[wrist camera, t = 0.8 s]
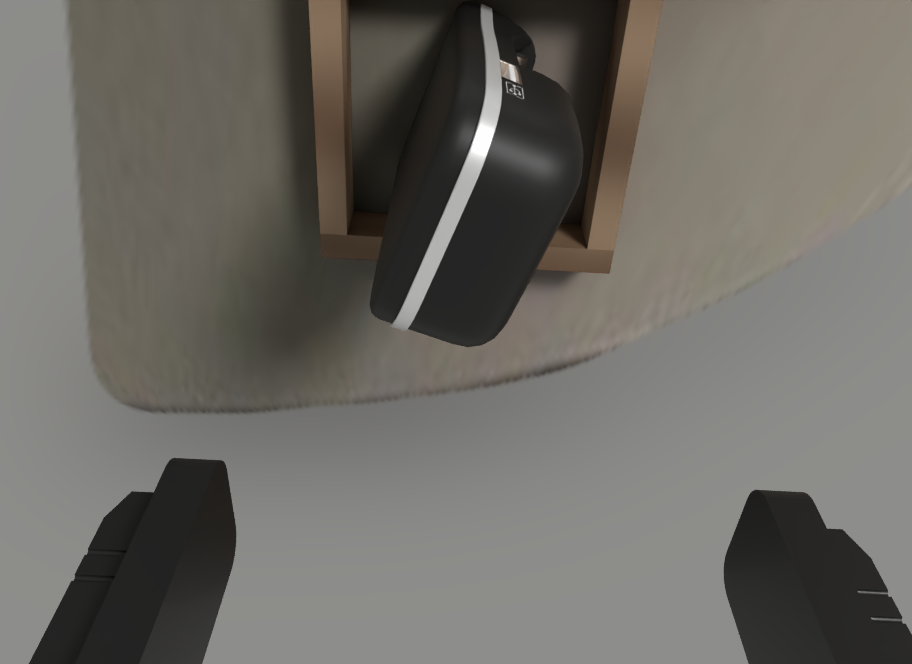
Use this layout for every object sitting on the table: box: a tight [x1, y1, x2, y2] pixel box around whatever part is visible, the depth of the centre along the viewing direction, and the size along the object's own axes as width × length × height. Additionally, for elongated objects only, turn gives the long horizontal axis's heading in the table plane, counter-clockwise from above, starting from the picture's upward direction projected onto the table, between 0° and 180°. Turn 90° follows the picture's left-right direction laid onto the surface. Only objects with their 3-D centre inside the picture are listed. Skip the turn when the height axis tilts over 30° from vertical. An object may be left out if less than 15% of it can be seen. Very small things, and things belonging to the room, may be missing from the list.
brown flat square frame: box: [309, 0, 663, 274], centre depth 27 cm, size 11×11×2 cm
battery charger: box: [370, 1, 583, 347], centre depth 23 cm, size 7×4×11 cm, turn 158°
